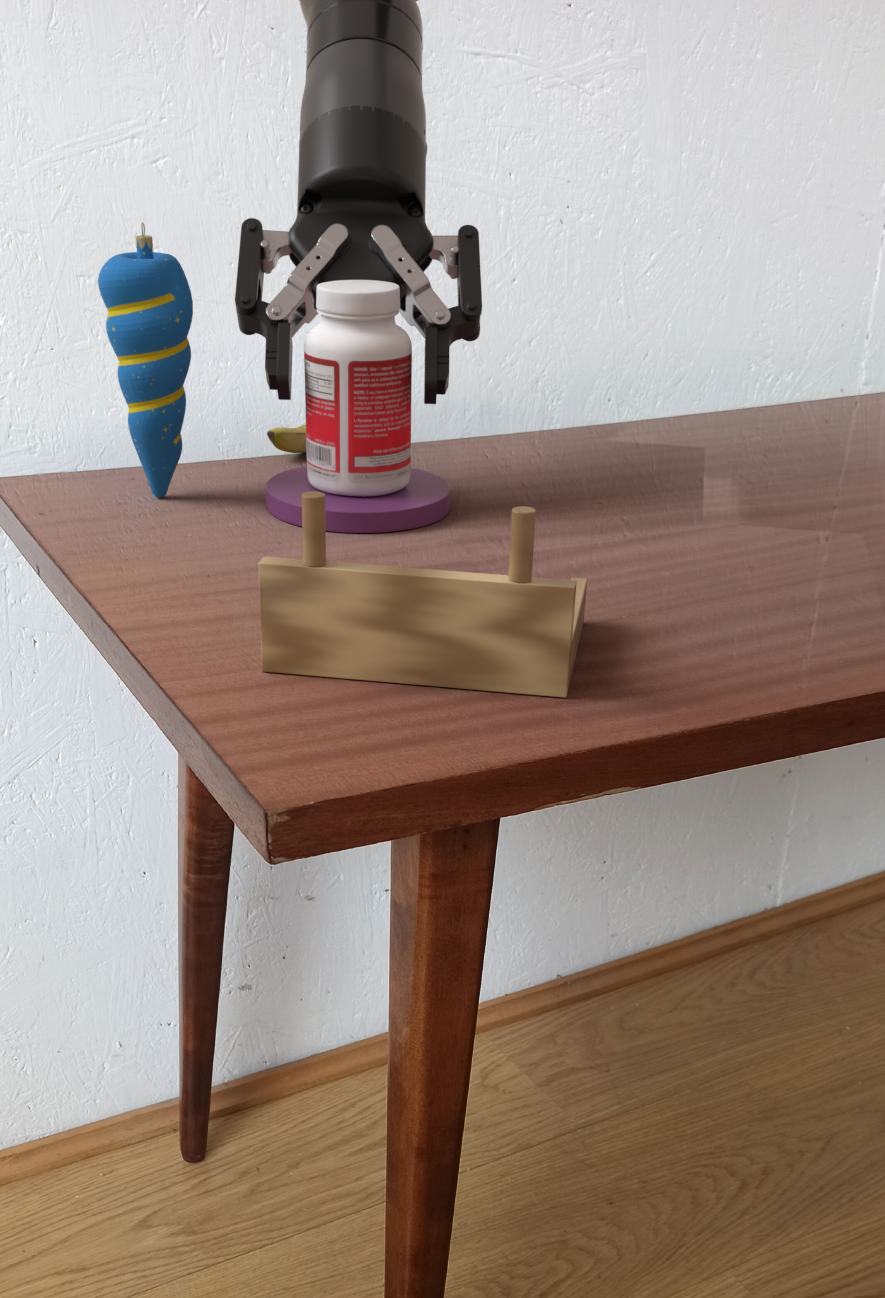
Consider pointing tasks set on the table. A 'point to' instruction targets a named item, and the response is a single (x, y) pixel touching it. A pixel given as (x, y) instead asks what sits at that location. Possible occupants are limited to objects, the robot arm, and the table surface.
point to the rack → (420, 618)
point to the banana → (289, 439)
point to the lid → (362, 503)
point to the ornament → (150, 351)
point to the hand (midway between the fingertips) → (357, 394)
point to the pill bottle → (358, 390)
